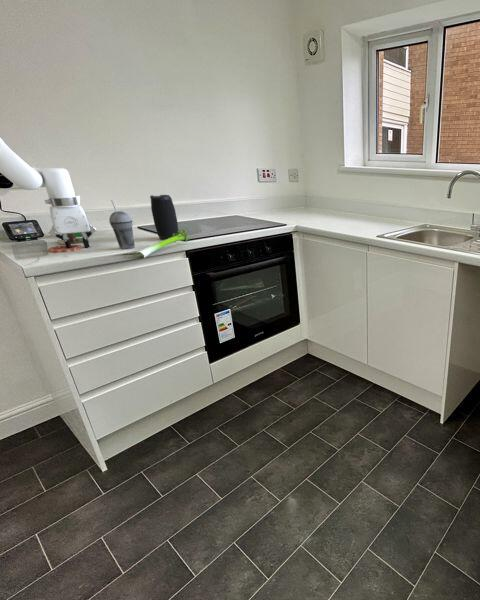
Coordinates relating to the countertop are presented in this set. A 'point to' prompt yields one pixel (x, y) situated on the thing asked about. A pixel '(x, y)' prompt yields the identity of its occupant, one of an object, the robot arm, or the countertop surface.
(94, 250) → the countertop surface
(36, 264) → the countertop surface
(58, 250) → the ring
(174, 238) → the leek
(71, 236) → the peg stand
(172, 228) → the portable speaker
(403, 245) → the countertop surface
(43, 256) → the countertop surface
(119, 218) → the beverage cup
